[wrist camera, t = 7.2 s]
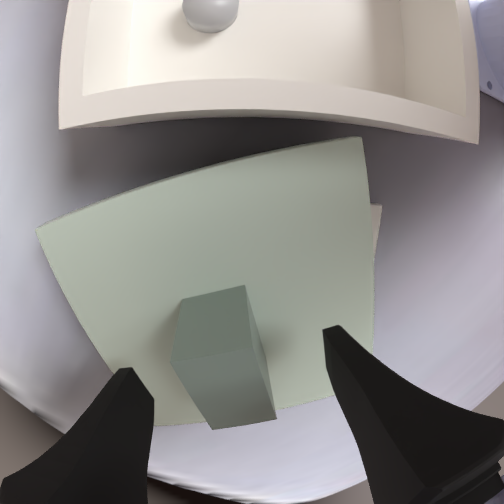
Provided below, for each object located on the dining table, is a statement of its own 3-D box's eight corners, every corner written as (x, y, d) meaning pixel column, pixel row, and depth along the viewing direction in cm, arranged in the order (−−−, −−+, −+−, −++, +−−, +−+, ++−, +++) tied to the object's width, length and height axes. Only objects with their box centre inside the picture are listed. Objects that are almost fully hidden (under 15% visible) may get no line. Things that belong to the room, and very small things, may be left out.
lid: (342, 135, 11) (420, 146, 6) (359, 362, 16) (392, 429, 11) (55, 216, 11) (-17, 268, 6) (158, 404, 16) (148, 473, 11)
